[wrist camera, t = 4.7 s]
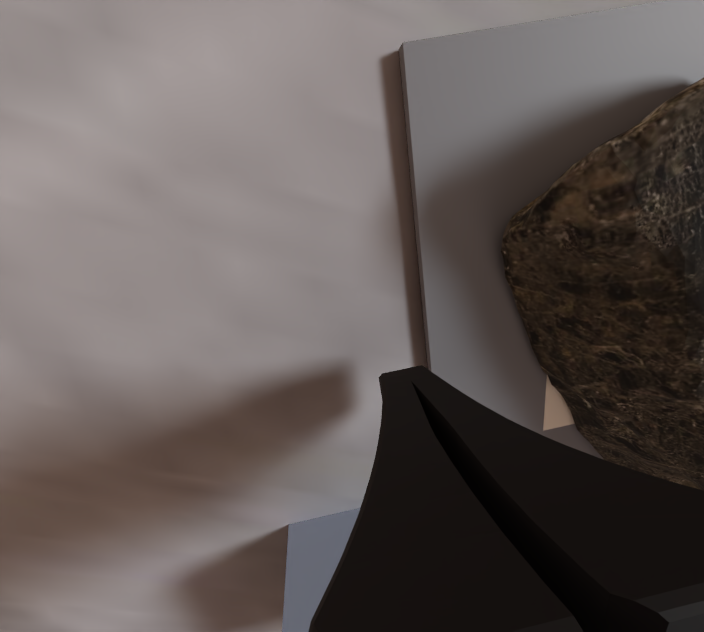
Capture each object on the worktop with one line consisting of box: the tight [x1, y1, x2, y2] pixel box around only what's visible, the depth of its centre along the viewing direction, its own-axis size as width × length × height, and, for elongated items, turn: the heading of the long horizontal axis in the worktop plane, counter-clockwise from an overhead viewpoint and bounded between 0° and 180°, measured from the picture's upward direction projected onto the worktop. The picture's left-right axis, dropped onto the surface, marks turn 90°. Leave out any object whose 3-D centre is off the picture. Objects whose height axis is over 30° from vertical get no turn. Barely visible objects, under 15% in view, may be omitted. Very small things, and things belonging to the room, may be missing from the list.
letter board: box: [399, 0, 704, 460], centre depth 12 cm, size 18×16×1 cm
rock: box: [501, 77, 704, 490], centre depth 10 cm, size 8×16×4 cm, turn 37°
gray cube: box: [282, 508, 360, 632], centre depth 13 cm, size 5×5×5 cm
